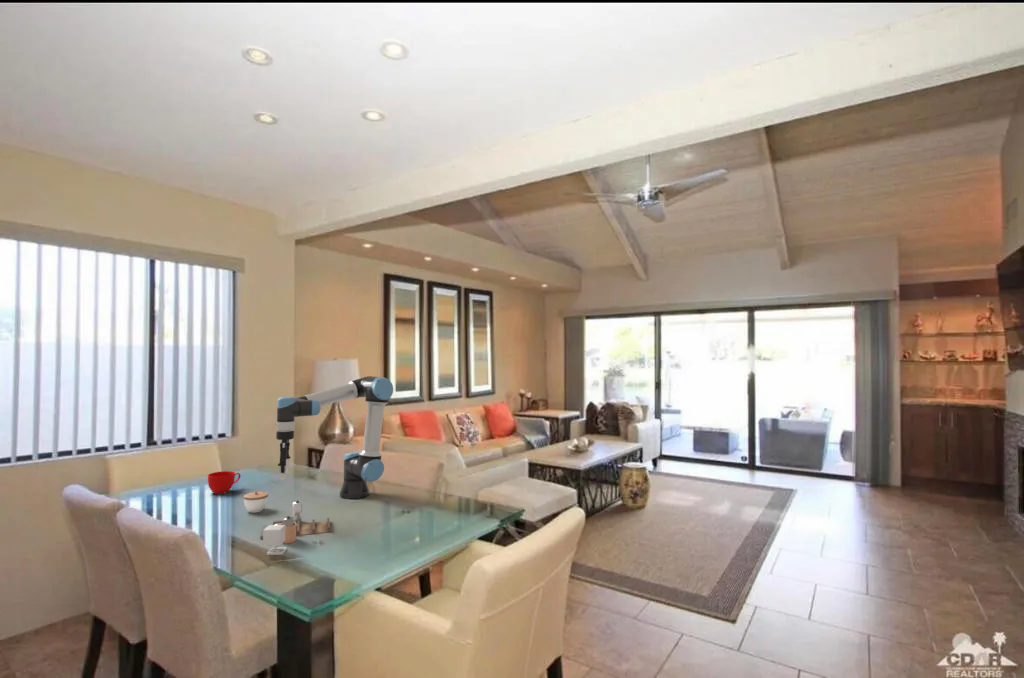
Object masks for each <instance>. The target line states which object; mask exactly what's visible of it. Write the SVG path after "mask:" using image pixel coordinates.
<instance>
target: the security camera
mask: <svg viewBox="0 0 1024 678" xmlns="http://www.w3.org/2000/svg"><path fill="white" fill-rule="evenodd" d="M285 528H286V526H285V525H273V524H269V526H268V527H266V528H265V529H264V531H263V539H262V547H268V546H269V547H270V546H271V548H270V549H269V550H268V551H267V552H266V553H267V556H276V555H277V556H280V555H283V554H284V553H285V552H286V551H287V549H288V548H287V546H285V547H283V546H281V545H283V544H284V543H283V542H284V541H285ZM272 546H273V547H272Z"/></svg>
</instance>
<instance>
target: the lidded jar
mask: <svg viewBox="0 0 1024 678" xmlns="http://www.w3.org/2000/svg"><path fill="white" fill-rule="evenodd" d="M268 501H269V492H265V491H257V490H256V491H254V492H249V493H248V492H247V493H246V494H245V495H243V505H244V508H245V510H247V511H248V513H253V514H254V513H260V512H262V511H264V509H265V508H266V506H267V505H268Z"/></svg>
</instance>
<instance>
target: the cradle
mask: <svg viewBox="0 0 1024 678" xmlns="http://www.w3.org/2000/svg"><path fill="white" fill-rule="evenodd" d="M276 523H283V519H278V520H273V522H272V525H274V524H276ZM269 525H270V524H269ZM269 525H262V529H261V532H260V534H259V535H260V537H259V540H263V531H264V529H265V528H266V527H268V526H269Z"/></svg>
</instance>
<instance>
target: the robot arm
mask: <svg viewBox="0 0 1024 678" xmlns="http://www.w3.org/2000/svg"><path fill="white" fill-rule="evenodd" d="M393 393H394V385H393V383H392V382H391V380H390V379H388V378H386V377H382V376H372V375H368V376H364V377H361V378H357V379H354V380H350V381H349V382H348V383H347V384H344V385H339V386H335V387H331V388H329V389H324V390H321V391H317V392H314V393H309V394H306V395H303V396H299V397H294V396H280V397H279V398H278V399H277V402H276V404H277V405H276V423H275V426H276V430H277V431H276V435H275V436H276V437H275V438H276V440H279V441H281V442H280V444H279V453H280V454H279V463H277V466H278V467H279V471H278V472H279V474H278V475H279V476H278V477H279V478H278V481H286V480H287V474H289V465H290V463H289V462H290V459H291V456H290V446H291V445H290V444H291V442H290V440H293V439H294V438H295V421H296V420H295V419H296V418H297V417H313V416H319V414H320V413H321V408H322V407H323V406H326V405H330V404H334V403H337V402H340V401H345V400H347V399H351V398H352V399H353V400H354V399H355V400H356V399H359V398H365V401H364V402H365V403H366V404H367V409H366V418H365V426H364V435H363V441H362V442H363V443H362V450H361V451H352V452H348V453H345V454H344V456H343V482H342V485H341V487H340V491H339V497H340V498H341V497H343V498H342V499H345V498H357V499H360V498H359V497H363V498H365V497H364V496H366V495H368V494H369V495H370V490H369V486H368V483H367V482H370V483H371V482H376V481H377V480H379V479H380V478H381V477H382V476H383V474H384V471H385V465H384V463H383V461H382V456H383V455H382V453H381V452H380V447H381V445H380V444H381V439H382V429H383V419H384V413H385V412H384V411H385V406H387V404H389V399H390V398H391V397H392V395H393ZM369 495H368V496H369ZM366 497H367V496H366Z"/></svg>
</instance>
